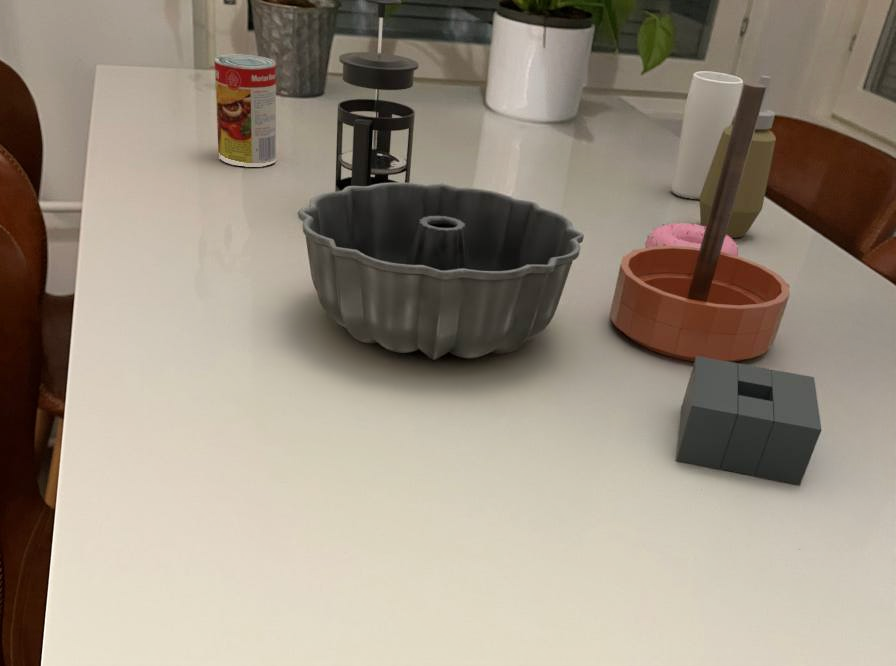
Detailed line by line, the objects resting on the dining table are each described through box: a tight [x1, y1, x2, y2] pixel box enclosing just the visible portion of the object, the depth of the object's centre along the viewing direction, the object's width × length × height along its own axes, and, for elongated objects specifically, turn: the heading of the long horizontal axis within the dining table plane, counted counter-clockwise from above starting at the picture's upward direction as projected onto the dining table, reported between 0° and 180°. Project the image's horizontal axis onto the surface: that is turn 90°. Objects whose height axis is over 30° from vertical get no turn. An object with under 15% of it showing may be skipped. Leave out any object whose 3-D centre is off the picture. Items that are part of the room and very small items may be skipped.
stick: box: [687, 81, 767, 302], centre depth 94 cm, size 2×2×22 cm
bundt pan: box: [297, 181, 585, 361], centre depth 94 cm, size 26×26×10 cm
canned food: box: [214, 53, 277, 163], centre depth 132 cm, size 8×8×12 cm
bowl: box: [609, 246, 791, 363], centre depth 100 cm, size 17×17×6 cm
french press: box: [334, 0, 419, 192], centre depth 114 cm, size 12×9×23 cm
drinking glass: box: [670, 70, 744, 200], centre depth 136 cm, size 7×7×15 cm
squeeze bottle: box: [699, 75, 777, 239], centre depth 123 cm, size 8×8×18 cm
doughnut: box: [644, 222, 740, 257], centre depth 115 cm, size 11×11×4 cm
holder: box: [675, 356, 822, 486], centre depth 82 cm, size 10×10×5 cm
